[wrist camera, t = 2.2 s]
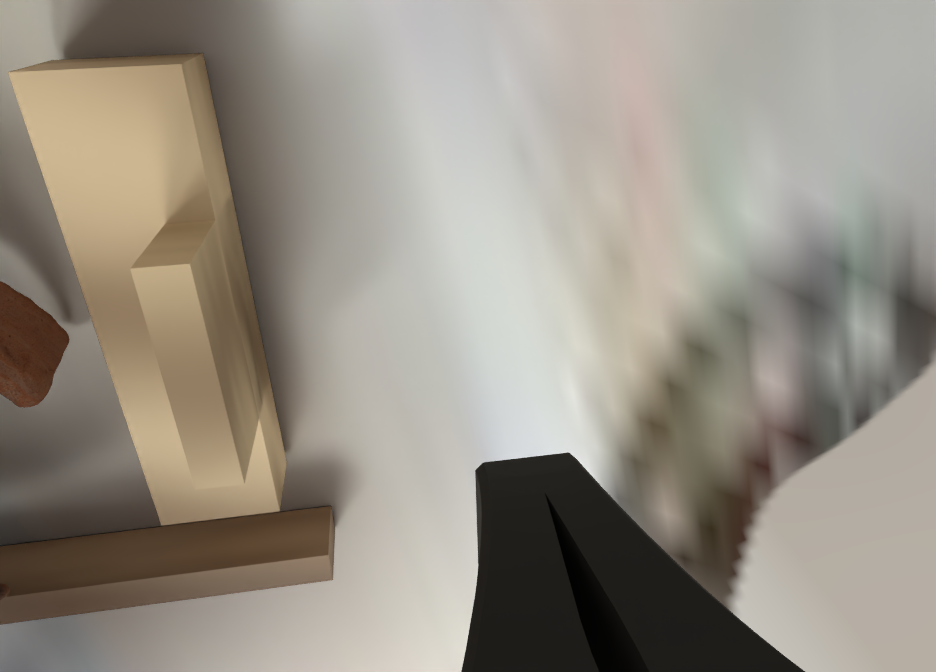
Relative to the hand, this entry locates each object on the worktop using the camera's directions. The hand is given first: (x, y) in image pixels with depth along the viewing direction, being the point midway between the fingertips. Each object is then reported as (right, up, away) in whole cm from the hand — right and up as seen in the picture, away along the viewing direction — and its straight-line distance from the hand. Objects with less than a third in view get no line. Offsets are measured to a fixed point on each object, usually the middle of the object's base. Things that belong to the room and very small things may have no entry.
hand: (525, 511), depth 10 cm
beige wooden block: (-8, +4, +7) cm, 11 cm away
